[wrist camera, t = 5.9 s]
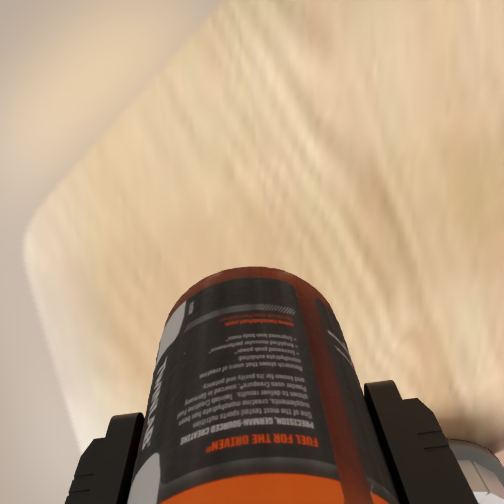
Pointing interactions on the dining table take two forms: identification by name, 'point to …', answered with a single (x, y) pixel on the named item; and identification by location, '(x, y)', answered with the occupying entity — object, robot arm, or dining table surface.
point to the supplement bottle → (257, 402)
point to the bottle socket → (480, 471)
